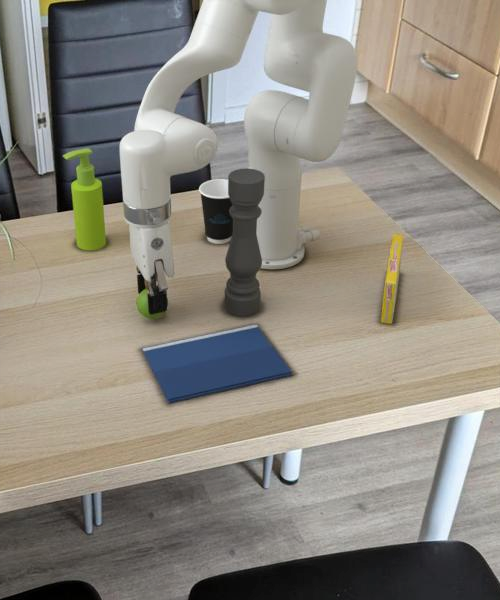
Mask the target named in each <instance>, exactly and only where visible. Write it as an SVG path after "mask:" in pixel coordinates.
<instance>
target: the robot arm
mask: <svg viewBox="0 0 500 600" xmlns="http://www.w3.org/2000/svg"><path fill="white" fill-rule="evenodd" d="M327 1H328V0H202V3H201V6H200V8H199V11H198V14H197V17H196V19H195V21H194V22H195V23H194V24H193V28H192V30H191V33H190V37H189V39H188V41H187V42H186V44H185V45H184V46H183V48H182V49H180V50H179V51H178V52H177V53H176V54H174V55H173V56H172V57H171V58H170V59H169V60H168V61H166V63H165V64H164V65H163V66H162V67H161V68H160V69H159V70H158V71H157V73H156V74H155V75H154V76H153V77H152V79H151V80H150V82H149V84H148V85H147V87H146V89H145V91H144V95H143V97H142V99H141V103H140V106H139V108H138V112H137V115H136V118H135V123H134V129H133V131H131V132H129V133H127V134H125V135H124V136H123V137H122V138H121V140H120V141H119V147H118V148H119V162H120V163H119V164H120V178H121V191H122V203H123V205H122V207H123V218H124V221H125V223H126V224H128V226H129V245H130V253H131V256H132V259H133V261H134V263H135V265H136V273H137V274H136V281H137V294H138V295H139V294H140V293H141V292H142V291H143V290H144V289H146V287H145V280H147V281H148V287H149V293H148V294H147V296H148V312H149V314H156V313H161V312H165V311H166V312H167V311H168V308H167V299H168V290H169V285H168V281H167V277H168V278H171V279H172V278H174V276H175V262H174V249H173V241H172V234H171V228H170V224H169V222H170V220H171V219H172V196H171V194H172V193H171V178H172V176H177V175H183V174H186V173H191V172H195V171H199V170H202V169H203V168H205V167H206V166H207V165H209V164H210V163H211V162H212V161H213V159H215V157H216V155H217V152H218V149H219V140H218V136H217V135H216V133H215V132H214V131H213V129H212V128H210V127H209V126H207V125H205V124H203V123H202V122H199V121H196V120H193V119H191V118H188V117H186V116H183V115H181V114H177V113H175V111H176V109H177V105H178V103H179V101H180V99H181V97H182V96H183V94H184V92H185V91H186V90H187V89H188V88H189V87H190V86H191V85H192V84H194V83H195V82H196V81H198V80H199V79H201V78H204V77H206V76H208V75H211V74H214V73H217V72H220V71H226V70H229V69H231V68H234V67H236V66H237V65H239V63H240V62H241V60H242V57H243V54H244V52H245V49H246V46H247V43H248V41H249V39H250V36H251V33H252V30H253V27H254V25H255V22H256V19H257V17H258V15H259V13H260V12H262V13H266V14H270V22H269V23H270V24H269V27H268V34H267V39H266V44H265V50H264V58H263V70H264V74H265V75H266V77H268V78H269V79H270V80H271V81H274V82H275V83H278V84H281V85H283V86H286V87H290V88H293V89H297V90H300V91H303V92H306V93H309V94H308V98H305V97H303V96H300V95H297V94H293V93H290V92H287V91H282V90H276V89H274V90H273V89H268V90H263V91H260V92H259V93H256V94H255V95H254V96H252V98H251V99H250V100H249V102H248V104H246V108H245V111H244V114H243V115H244V116H243V129H244V134H245V140H246V146H247V155H248V156H247V157H248V167H247V168H248V169H255V170H258V171H261V172H262V173H263V174H264V176H265V182H264V196H263V197H262V200H261V202H260V203H259V205H258V206H259V207H260V208H261V211H262V213H261V215H260V217H259V218H258V219H257V232H256V235H257V239H258V244H259V249H260V253H261V258H262V265H261V267H260V269H262V270H283V269H288V268H290V267H293V266H295V265H297V264H299V263H300V262H302V260H303V259H304V258H305V257H304V256H305V246H304V245H305V244H307V242H313V241H317V240H318V241H319V240H321V239H322V232H321V230H320V229H315V230H314V229H313V230H310V229H309V226H307V225H305V226H301V227H299V218H300V217H299V215H300V205H301V204H300V203H301V189H302V179H303V177H302V176H303V166H302V160H305V161H308V162H312V163H321V162H324V161H326V160H328V159H329V158H331V157H332V156H333V154H334V153H335V152H336V150H337V149H338V147H339V146H340V143H341V141H342V138H343V133H344V130H345V126H346V121H347V118H348V113H349V109H350V104H351V100H352V97H353V91H354V88H355V83H356V78H357V74H358V56H357V52H356V49H355V47H354V45H353V44H352V43H351V42H350V41H349V40H348V39H347V38H344V37H342V36H339V35H335V34H331V33H327V32H324V30H323V29H324V28H323V27H324V19H325V15H326V14H325V13H326V8H327ZM154 273H155V274H156V276H153V274H154ZM166 276H167V277H166ZM153 281H157V285H156V286H155V287H154V288H153ZM166 312H165V313H166Z"/></svg>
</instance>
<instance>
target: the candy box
mask: <svg viewBox="0 0 500 600" xmlns="http://www.w3.org/2000/svg"><path fill="white" fill-rule="evenodd" d="M403 243H404V235H403V234H401V233H400V234H397V233H393V234H392V237H391V244H390V250H389V255H388V262H387V268H386V274H385V281H384V287H383V296H382V305H381V318H380V322H381V323H382V324H391V325H392V324H393V320H394V314H395V307H396V301H397V296H398V295H397V294H398V287H399V280H400V274H401V273H400V272H401V264H402V254H403V253H402V252H403Z"/></svg>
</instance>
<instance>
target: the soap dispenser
mask: <svg viewBox="0 0 500 600" xmlns="http://www.w3.org/2000/svg"><path fill="white" fill-rule="evenodd" d="M91 155H93V151H92V149H90V148H89V147H86V148H85V147H84V148H79V149H75V150H72V151H68V152H67V153H65V154H62V157H63V158H64V159H65V160H66V161H70V160H73V159H76V158H79V164H78V165H77V166H76V168H75V171H76V179H75V180H73V182H72V183H71V184H70V188H71V195H72V196H71V199H72V210H73V219H74V230H75V240H76V241H75V242H76V246H77V248H78V249H80V250H83V251H89V252H92V251H97V250H101V249H102V248H104V247H105V246H106V244H107V238H106V235H107V234H106V220H105V207H104V196H103V195H104V193H103V182H102V181H101V180H100V179H98V178H96V175H95V165H93V164H92V163H90V156H91Z"/></svg>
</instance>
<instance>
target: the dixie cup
mask: <svg viewBox="0 0 500 600" xmlns="http://www.w3.org/2000/svg"><path fill="white" fill-rule="evenodd" d="M198 191H199V193H200V199H201V207H202V216H203V222H204V223H203V224H204V231H205V232H204V233H205V236H206V239H207V241H208V242H210V243H211V244H216V245H222V244H227V243H230V241H231V237H232V234H233V218H232V217H231V216H230V213H229V209H230V208H231V207H232V206H233V205H232V202H231V201H230V197H229V195H228V179H224V178H217V179H216V178H215V179H210V180H206V181H205V182H203V183H201V184H200V185H199V188H198Z"/></svg>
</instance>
